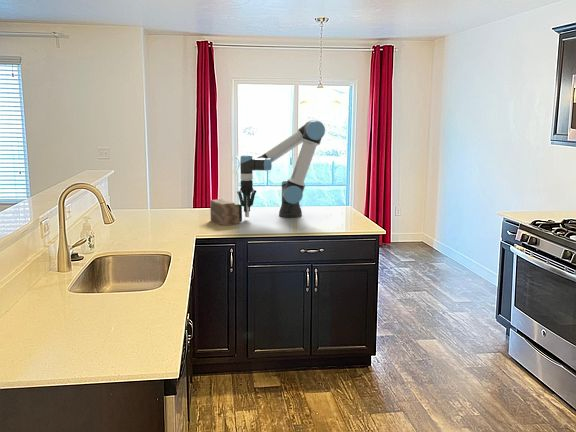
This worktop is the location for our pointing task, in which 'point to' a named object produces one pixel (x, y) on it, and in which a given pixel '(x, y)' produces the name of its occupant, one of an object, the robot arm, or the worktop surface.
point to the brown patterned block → (224, 212)
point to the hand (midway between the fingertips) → (247, 216)
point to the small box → (240, 213)
